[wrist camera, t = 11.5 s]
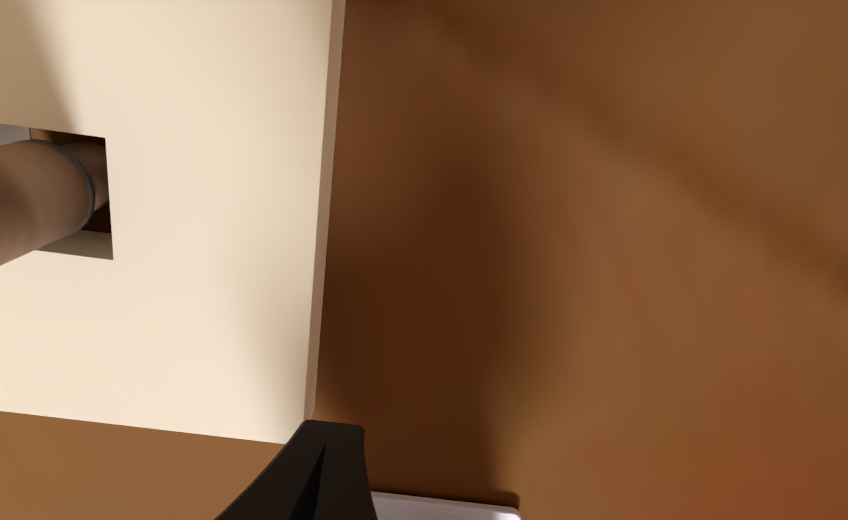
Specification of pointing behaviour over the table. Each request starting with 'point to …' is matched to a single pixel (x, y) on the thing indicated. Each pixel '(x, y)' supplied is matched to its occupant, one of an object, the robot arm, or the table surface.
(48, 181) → the walnut peg
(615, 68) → the table surface
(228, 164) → the cream board
